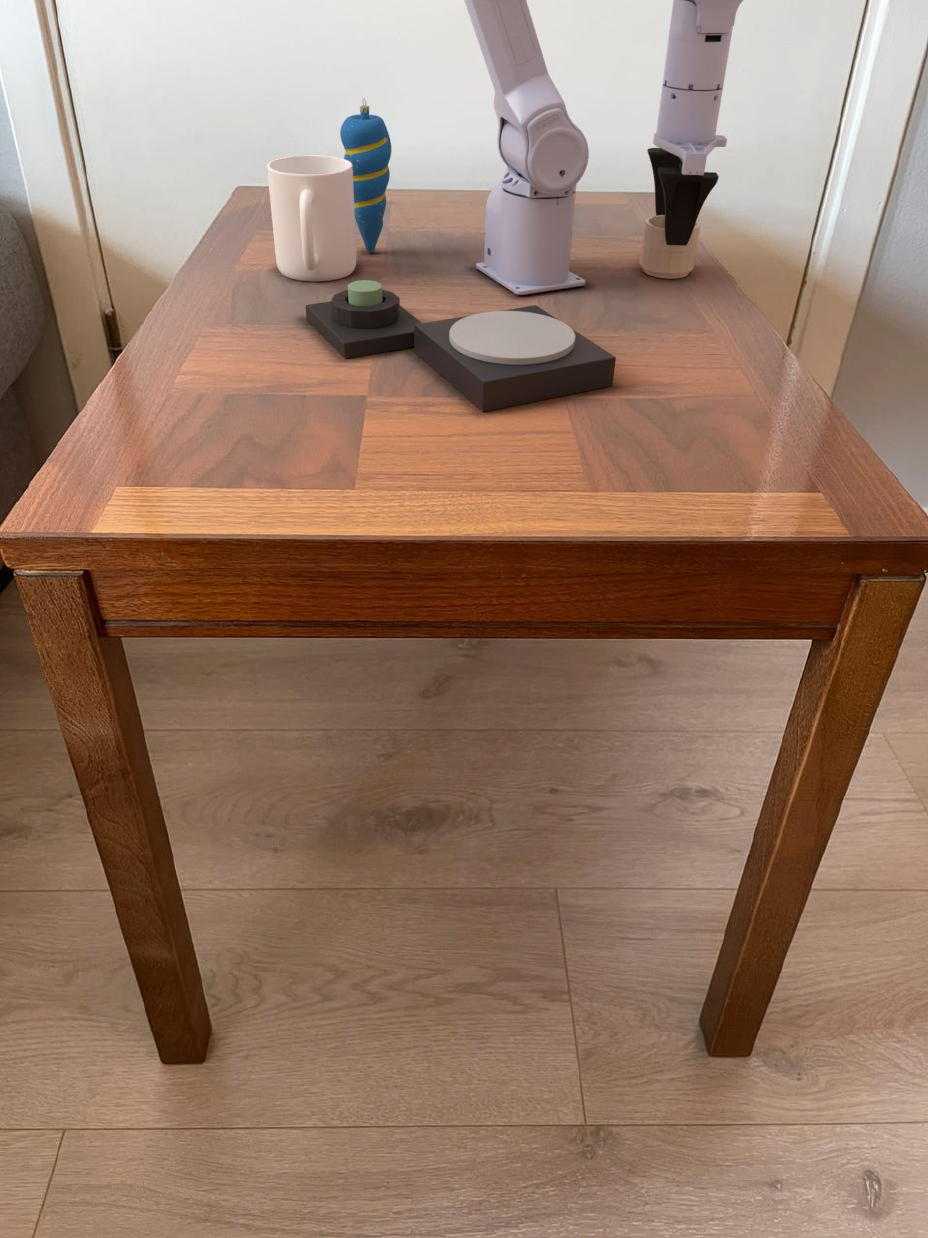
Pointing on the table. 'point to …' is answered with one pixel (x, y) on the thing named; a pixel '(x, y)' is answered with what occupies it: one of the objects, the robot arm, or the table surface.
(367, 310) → the pad
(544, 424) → the table surface
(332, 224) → the cup
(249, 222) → the table surface
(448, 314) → the table surface
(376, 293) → the button
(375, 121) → the ornament
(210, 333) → the table surface
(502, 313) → the scale
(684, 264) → the beige handleless cup
